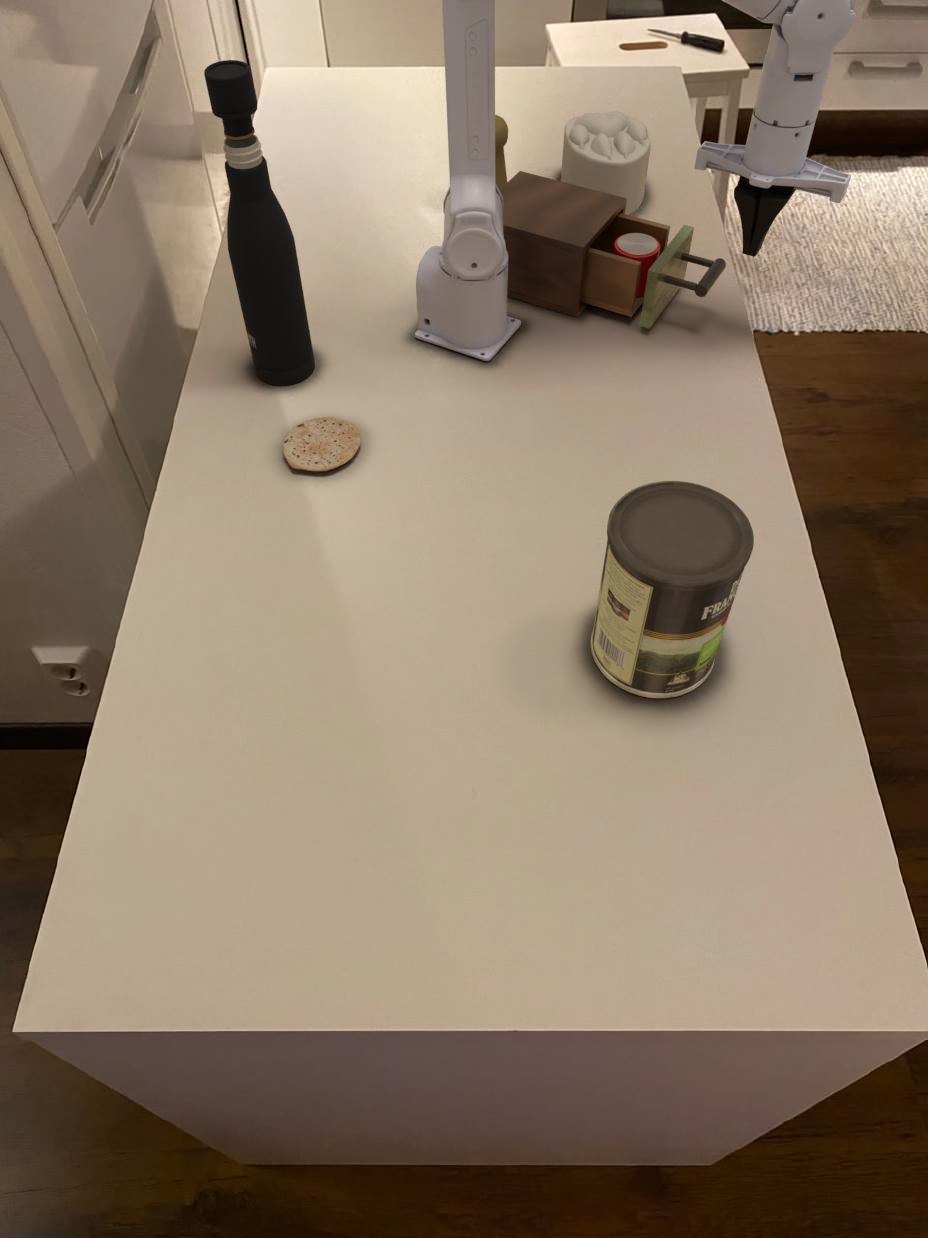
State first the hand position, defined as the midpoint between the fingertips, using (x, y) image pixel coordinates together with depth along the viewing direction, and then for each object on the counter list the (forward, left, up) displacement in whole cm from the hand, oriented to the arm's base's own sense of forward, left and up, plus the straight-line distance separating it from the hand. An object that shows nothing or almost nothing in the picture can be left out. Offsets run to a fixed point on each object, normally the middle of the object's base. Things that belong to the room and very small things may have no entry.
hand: (751, 250), depth 98 cm
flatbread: (-29, -38, -10) cm, 49 cm away
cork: (-37, +11, -10) cm, 40 cm away
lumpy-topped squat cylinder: (-25, +21, -10) cm, 34 cm away
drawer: (-12, 0, -9) cm, 15 cm away
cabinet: (-23, 0, -10) cm, 25 cm away
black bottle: (-40, -29, -10) cm, 50 cm away
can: (-12, 0, -8) cm, 15 cm away
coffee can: (+9, -45, -10) cm, 47 cm away
